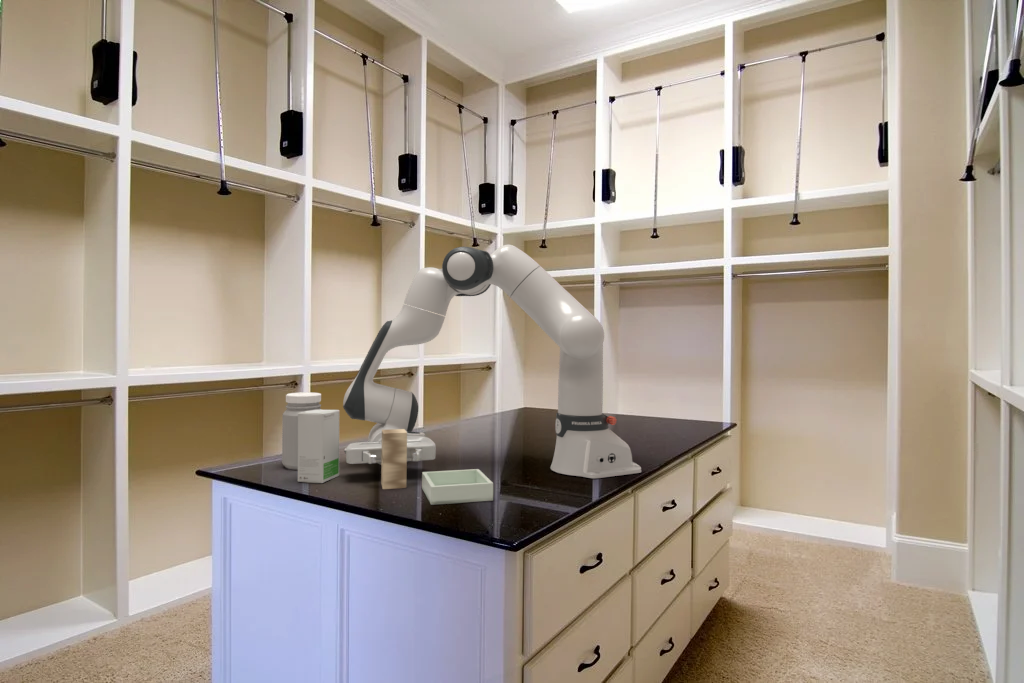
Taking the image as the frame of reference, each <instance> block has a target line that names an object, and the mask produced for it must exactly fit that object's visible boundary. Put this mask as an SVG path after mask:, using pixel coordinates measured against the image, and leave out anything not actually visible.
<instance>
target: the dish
mask: <svg viewBox="0 0 1024 683" xmlns="http://www.w3.org/2000/svg"><path fill="white" fill-rule="evenodd" d="M421 473H422V474H421V489H422V491H423V493H424V494H425V496H426V498H427V500H428V502H429V504H430V505H432V506H434V505H446V504H447V505H449V504H450V505H451V504H462V503H463V504H464V503H475V502H477V503H478V502H491V501H494V482H493V481H492V480H490V478H488V477H487V475H485V473H484V472H482V470H480V469H479V468H474V469H473V468H471V469H454V470H437V471H435V470H434V471H422V472H421Z"/></svg>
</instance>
